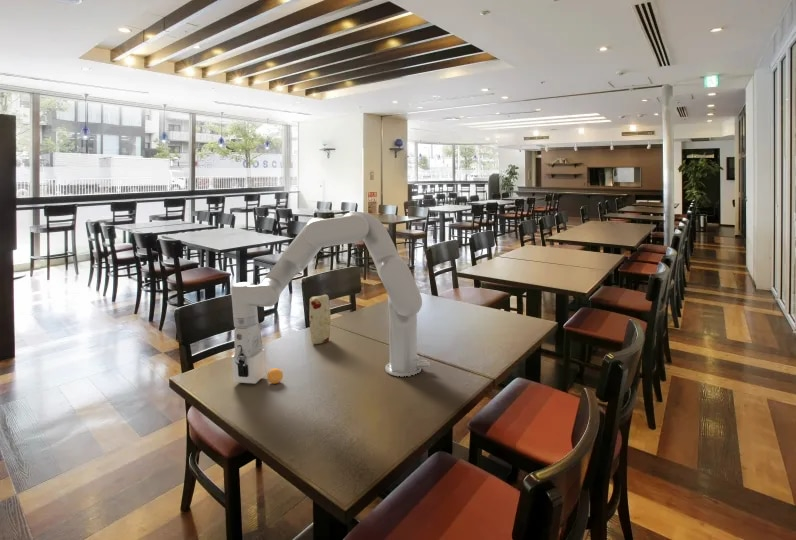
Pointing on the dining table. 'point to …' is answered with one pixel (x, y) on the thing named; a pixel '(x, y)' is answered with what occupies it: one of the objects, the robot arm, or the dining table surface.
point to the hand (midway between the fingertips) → (249, 370)
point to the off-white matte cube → (251, 368)
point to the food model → (319, 319)
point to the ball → (275, 375)
